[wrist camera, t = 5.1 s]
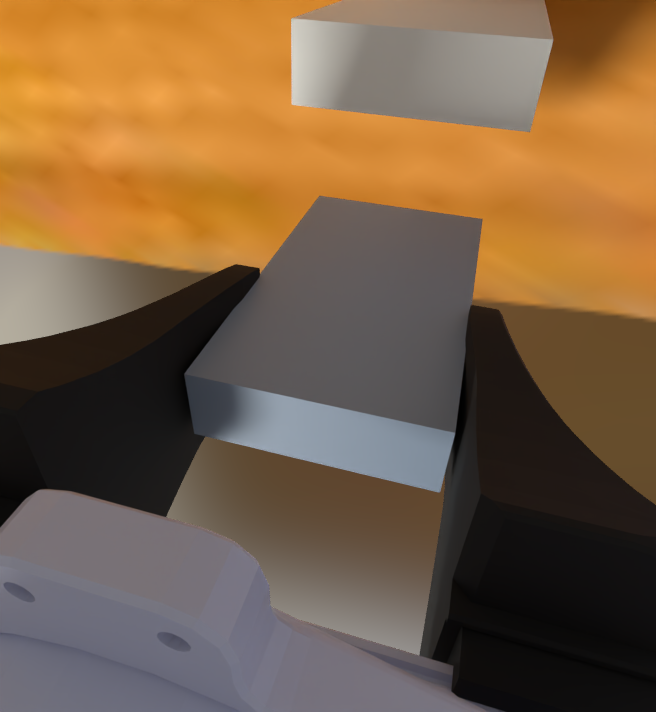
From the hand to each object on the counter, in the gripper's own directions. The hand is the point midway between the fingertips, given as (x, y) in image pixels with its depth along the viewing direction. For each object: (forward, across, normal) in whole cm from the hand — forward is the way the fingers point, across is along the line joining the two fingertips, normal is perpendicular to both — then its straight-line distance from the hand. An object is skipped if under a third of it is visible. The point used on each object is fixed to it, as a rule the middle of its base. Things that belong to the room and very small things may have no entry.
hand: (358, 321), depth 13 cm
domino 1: (+10, 0, -5) cm, 12 cm away
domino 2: (+5, 0, 0) cm, 5 cm away
